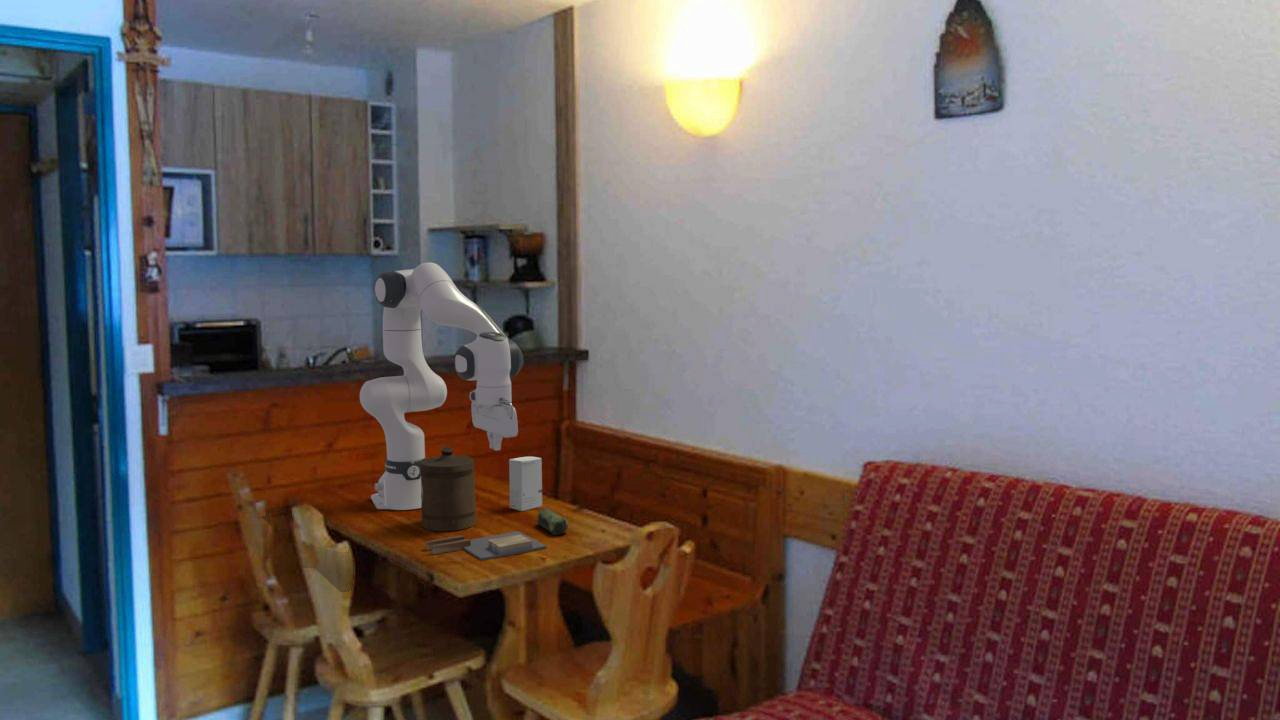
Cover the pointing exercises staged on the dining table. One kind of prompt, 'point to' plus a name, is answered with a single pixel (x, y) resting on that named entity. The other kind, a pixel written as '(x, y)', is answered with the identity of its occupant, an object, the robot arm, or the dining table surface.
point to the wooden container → (448, 492)
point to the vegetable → (552, 521)
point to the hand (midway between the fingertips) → (495, 449)
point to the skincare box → (525, 483)
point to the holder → (447, 544)
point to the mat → (483, 552)
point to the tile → (510, 544)
